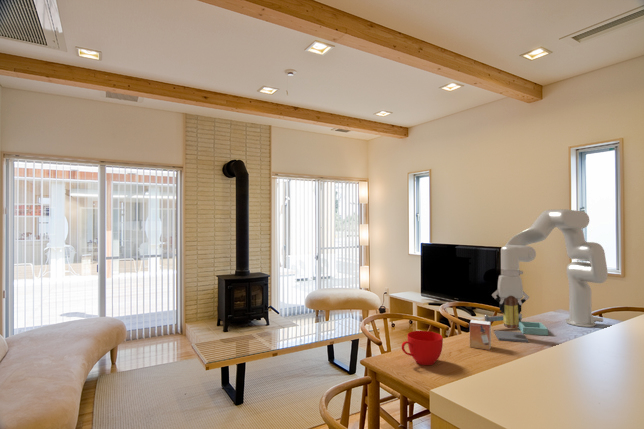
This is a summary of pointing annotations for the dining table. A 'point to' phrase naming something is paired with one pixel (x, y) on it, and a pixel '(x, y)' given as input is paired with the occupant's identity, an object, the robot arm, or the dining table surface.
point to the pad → (511, 336)
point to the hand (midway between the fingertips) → (510, 312)
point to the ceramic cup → (424, 346)
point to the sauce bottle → (511, 312)
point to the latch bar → (497, 318)
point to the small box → (480, 334)
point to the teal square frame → (532, 328)
